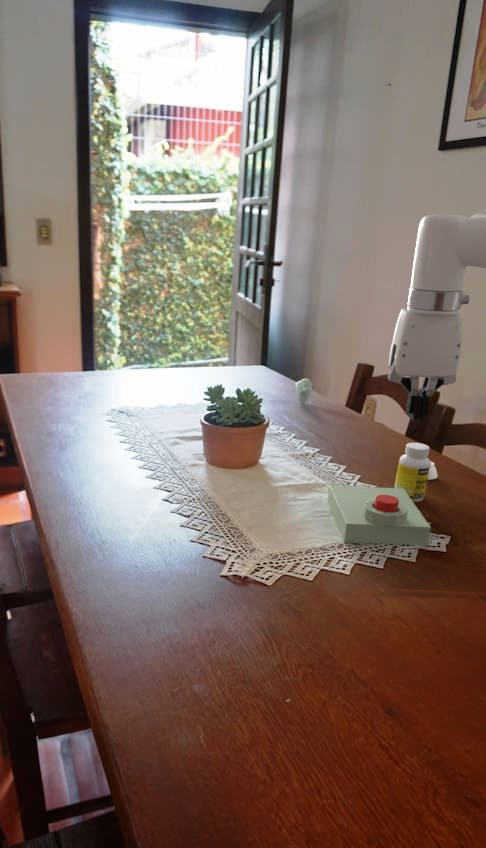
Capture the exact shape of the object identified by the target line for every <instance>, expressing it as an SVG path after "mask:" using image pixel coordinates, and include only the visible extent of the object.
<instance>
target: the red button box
mask: <svg viewBox="0 0 486 848" xmlns="http://www.w3.org/2000/svg"><path fill="white" fill-rule="evenodd" d="M378 495H390V496H394V497H396V498H398V499H399V504H398V510H397V512H393V513H390V512H382V511H378V510H376V509H375V508H374V503H375V497H376V496H378ZM327 504H328V506H329V509H330V511H332V512H331V513H332V517H333V519H334V521H335V523H336V526H337V529H338V530H339V533H340V535H341V538H342V540H343V542H344V543H354V544H355V543H358V544H377V545H378V544H380V545H381V544H382V545H403V546H404V545H405V546H428V544H429V540H430V534H431V529H432V526H430V524H429V523H428V521H427V520H426V519H425V517H424V516H423V514H422V512H421V511H420V510H419V508H418V507H417V506H416V504H415V502H413V501H412V500H411V499H410V497H409V496H408V494H407V493H406V492H405V490H404V489H402V488H394V487H377V486H376V487H375V486H352V485H351V486H350V485H333V484H332V485H331V484H330V485H329V487H328V496H327Z"/></svg>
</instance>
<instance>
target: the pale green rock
mask: <svg viewBox="0 0 486 848" xmlns="http://www.w3.org/2000/svg"><path fill="white" fill-rule="evenodd" d="M294 386H295V393H296V398H297V400H298V402H299V403H300V404H305V403H307V402H308V400H309V399H310V398H311V395H312V393H313V389H314V387H313V386H314V385H313V382H312V381H311V380H310V379H309V378H302V379H301V380H298V381H295V382H294Z"/></svg>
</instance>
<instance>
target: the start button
mask: <svg viewBox="0 0 486 848" xmlns="http://www.w3.org/2000/svg"><path fill="white" fill-rule="evenodd" d="M398 504H399V499H398V498H396V497H394V496H390V495H378V496H376V497H375V503H374V508H375V509H376V510H378V511H382V512H390V513H393V512H397V510H398Z"/></svg>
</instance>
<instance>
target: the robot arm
mask: <svg viewBox="0 0 486 848" xmlns="http://www.w3.org/2000/svg"><path fill="white" fill-rule="evenodd" d="M413 259H414V260H413V264H412V273H411V279H410V288H409V294H408V302H407V308H401V311H400V313H399V315H398V318H397V322H396V325H395V330H394V332H393V338H392V342H391V345H390V351H389V356H388V367H389V371H388V375H387V379H388V381H389V382H391V383H395V384H397V385H398V384H399V385H402V387H404V389H405V390H406V392H408V395H407V401H406V407H405V412H406V414H407V416H408V417H409V418H410V419H411V420H412V421H417V420H418V421H424V419H425V415H427V414H428V412H429V411H428V410H429V403H430V398H431V397H432V396H433V395H434V393H435V392H436V391H437V390H439V389H440V388H441V387H442V386H447V385H451V384H455V383H456V381H457V373H458V371H459V367H460V363H461V355H462V348H463V347H462V346H463V313H462V311H460V310H461V306H462V305H468V304H469V303H470V300H471V299H470V295H469V294H464V291H463V288H464V287H463V286H464V282H465V281H464V280H465V275H466V271H467V270H466V269H467V267H477V268H483V269H486V208H484V209H483V210H481V211H479V212H476V213H475V214H472V215H471V216H470V217H469V216H467V215H463V214H449V213H447V214H443V213H438V214H435V213H433V214H427V215H425V216H424V217H422V219H421V220H420V222H419V226H418V230H417V237H416V245H415V251H414V258H413ZM420 378H423V380H422V384H421V386H420Z"/></svg>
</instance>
